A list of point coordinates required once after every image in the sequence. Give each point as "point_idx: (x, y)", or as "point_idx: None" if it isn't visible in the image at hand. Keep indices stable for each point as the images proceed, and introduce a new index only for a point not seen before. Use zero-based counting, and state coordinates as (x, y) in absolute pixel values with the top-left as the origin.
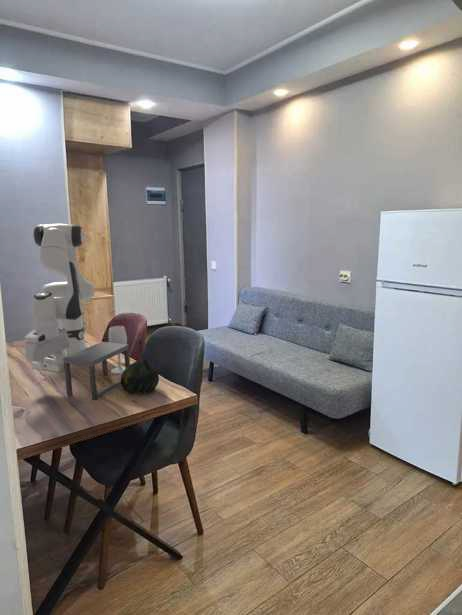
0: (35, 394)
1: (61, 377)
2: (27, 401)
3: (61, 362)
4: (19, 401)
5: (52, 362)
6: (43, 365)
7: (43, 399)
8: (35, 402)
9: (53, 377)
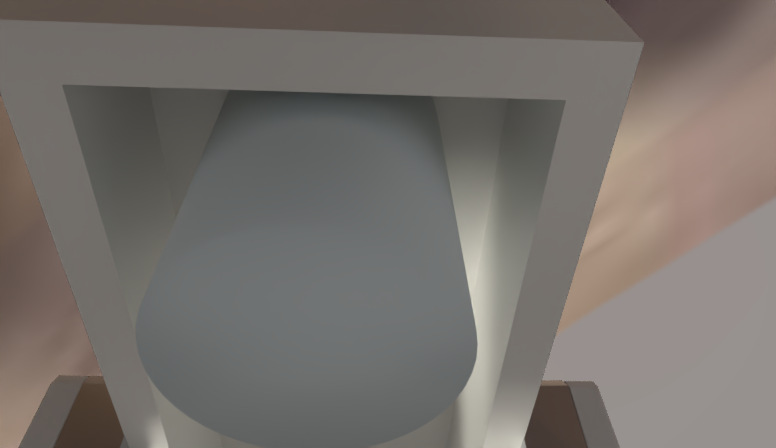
0: None
1: (27, 272)
2: (710, 152)
3: (347, 144)
4: (709, 223)
5: (206, 441)
6: (615, 441)
7: (644, 15)
8: (743, 45)
9: (82, 333)
